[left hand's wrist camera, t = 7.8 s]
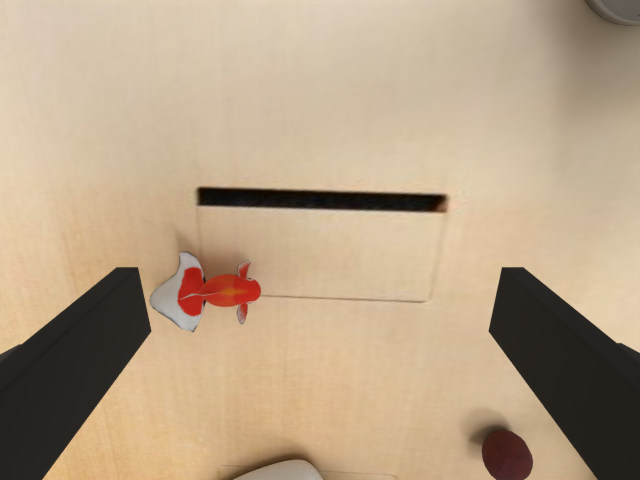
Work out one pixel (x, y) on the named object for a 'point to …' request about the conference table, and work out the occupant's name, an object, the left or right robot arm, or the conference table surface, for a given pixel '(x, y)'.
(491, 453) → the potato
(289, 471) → the projector
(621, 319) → the conference table surface
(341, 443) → the conference table surface
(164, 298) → the fish
